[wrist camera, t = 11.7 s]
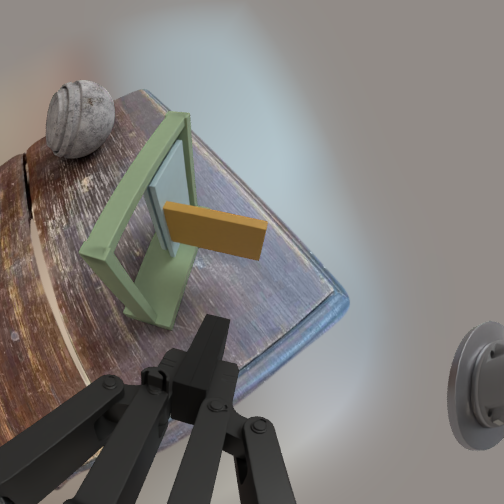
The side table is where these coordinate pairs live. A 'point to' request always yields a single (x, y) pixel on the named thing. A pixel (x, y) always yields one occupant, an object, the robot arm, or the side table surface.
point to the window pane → (199, 216)
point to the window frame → (157, 256)
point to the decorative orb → (79, 119)
